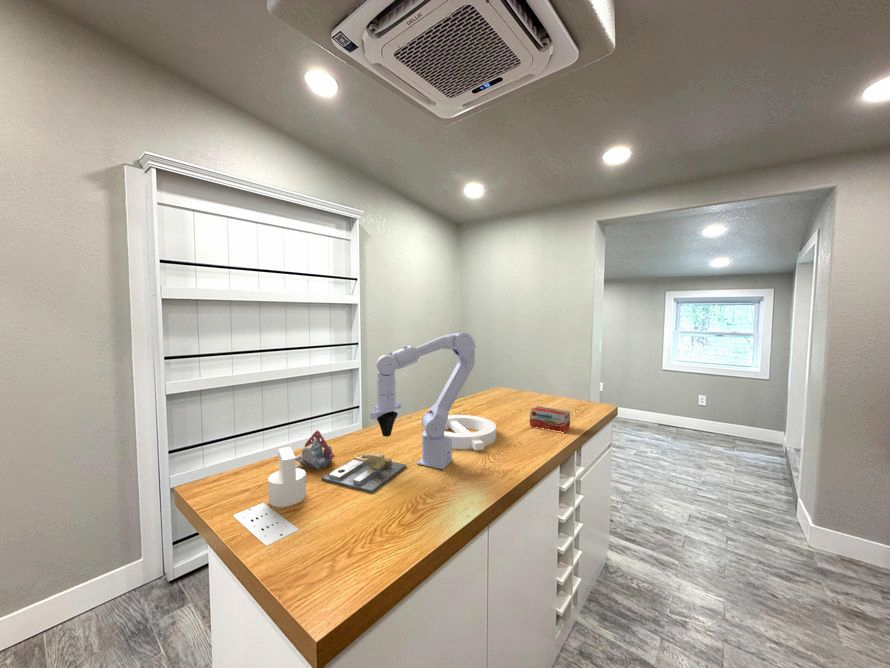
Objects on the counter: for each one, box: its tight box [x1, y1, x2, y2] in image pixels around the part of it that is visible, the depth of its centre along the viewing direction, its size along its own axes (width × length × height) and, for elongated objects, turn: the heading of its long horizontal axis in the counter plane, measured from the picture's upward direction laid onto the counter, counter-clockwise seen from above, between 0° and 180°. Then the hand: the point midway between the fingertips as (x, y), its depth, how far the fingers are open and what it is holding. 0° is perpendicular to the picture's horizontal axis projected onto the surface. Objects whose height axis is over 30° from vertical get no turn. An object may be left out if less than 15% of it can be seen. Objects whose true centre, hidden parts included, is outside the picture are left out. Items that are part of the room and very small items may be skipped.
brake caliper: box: [295, 430, 336, 470], centre depth 111 cm, size 11×11×12 cm
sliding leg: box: [353, 451, 385, 469], centre depth 106 cm, size 10×2×4 cm, turn 66°
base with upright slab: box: [267, 446, 307, 508], centre depth 91 cm, size 9×9×12 cm
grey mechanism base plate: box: [321, 454, 407, 494], centre depth 105 cm, size 18×18×3 cm
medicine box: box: [529, 405, 571, 433], centre depth 149 cm, size 15×8×8 cm, turn 56°
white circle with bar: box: [444, 414, 497, 451], centre depth 139 cm, size 28×28×5 cm
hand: (386, 435), depth 110 cm, fingers closed
